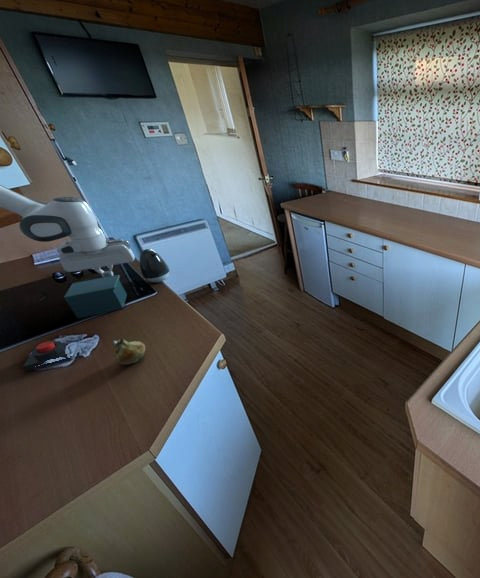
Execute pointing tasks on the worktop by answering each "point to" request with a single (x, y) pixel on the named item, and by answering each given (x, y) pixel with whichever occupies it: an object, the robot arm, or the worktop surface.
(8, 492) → the worktop surface
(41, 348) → the button
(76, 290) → the lid
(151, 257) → the black egg-shaped dome
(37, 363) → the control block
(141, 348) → the onion
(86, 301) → the tin
